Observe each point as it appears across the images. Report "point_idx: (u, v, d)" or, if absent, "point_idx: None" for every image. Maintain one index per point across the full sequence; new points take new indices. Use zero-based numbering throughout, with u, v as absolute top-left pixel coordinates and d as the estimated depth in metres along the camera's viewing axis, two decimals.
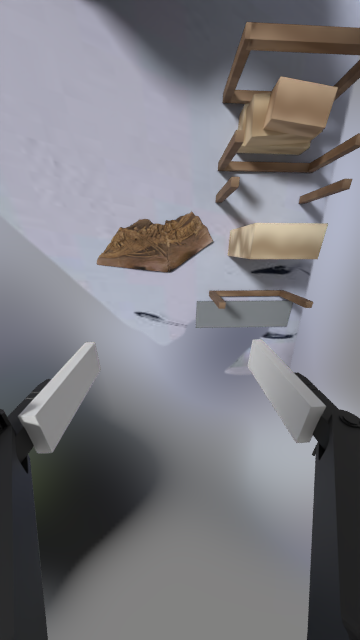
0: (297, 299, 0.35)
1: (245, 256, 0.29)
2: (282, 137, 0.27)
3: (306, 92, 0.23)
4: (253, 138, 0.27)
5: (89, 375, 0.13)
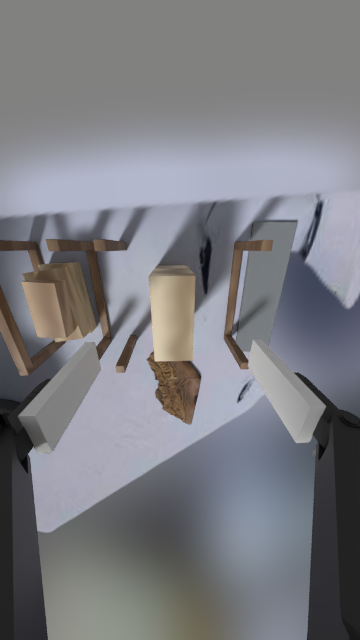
0: (253, 250, 0.22)
1: None
2: (74, 305, 0.27)
3: (37, 311, 0.23)
4: (83, 333, 0.28)
5: (89, 375, 0.13)
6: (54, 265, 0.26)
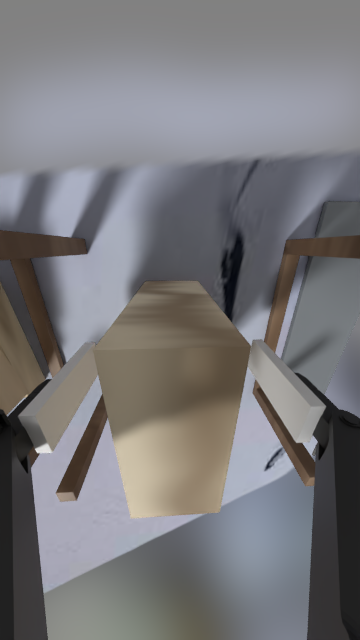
0: None
1: None
2: None
3: None
4: (5, 408, 0.15)
5: (89, 375, 0.13)
6: None
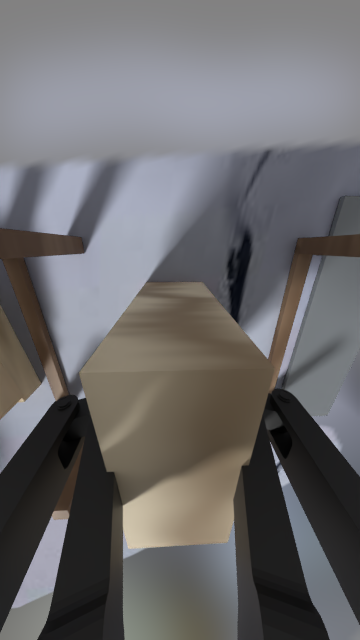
0: None
1: None
2: None
3: None
4: None
5: None
6: None
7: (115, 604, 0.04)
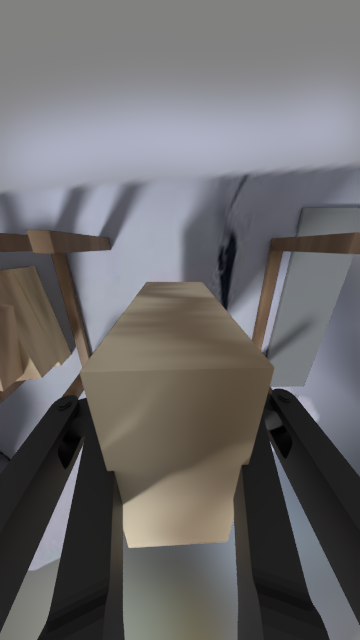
0: (319, 252, 0.13)
1: None
2: (25, 331, 0.18)
3: None
4: (43, 370, 0.19)
5: None
6: None
7: (115, 604, 0.04)
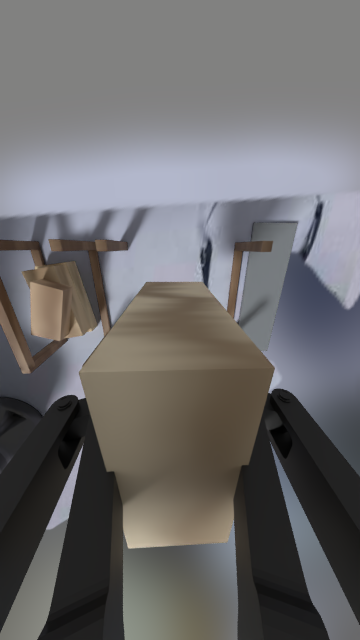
0: (253, 251, 0.23)
1: None
2: (73, 303, 0.27)
3: (38, 312, 0.24)
4: (83, 331, 0.28)
5: None
6: (50, 265, 0.26)
7: (115, 604, 0.04)
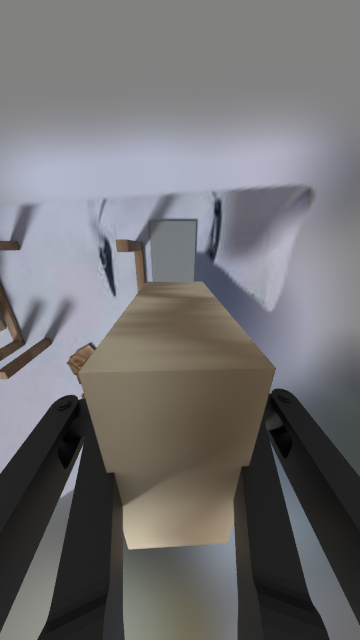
0: None
1: None
2: None
3: None
4: None
5: None
6: None
7: (115, 604, 0.04)
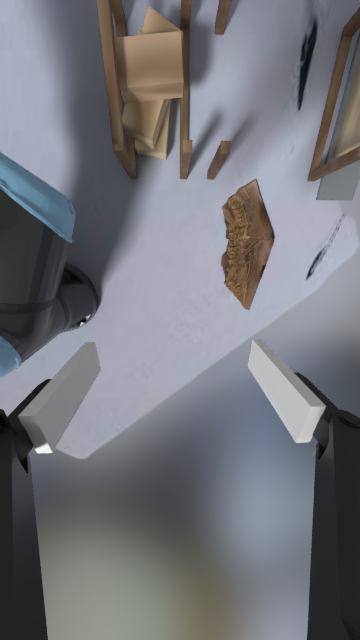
0: None
1: None
2: None
3: (146, 47, 0.20)
4: (153, 137, 0.25)
5: (89, 375, 0.13)
6: None
7: None
